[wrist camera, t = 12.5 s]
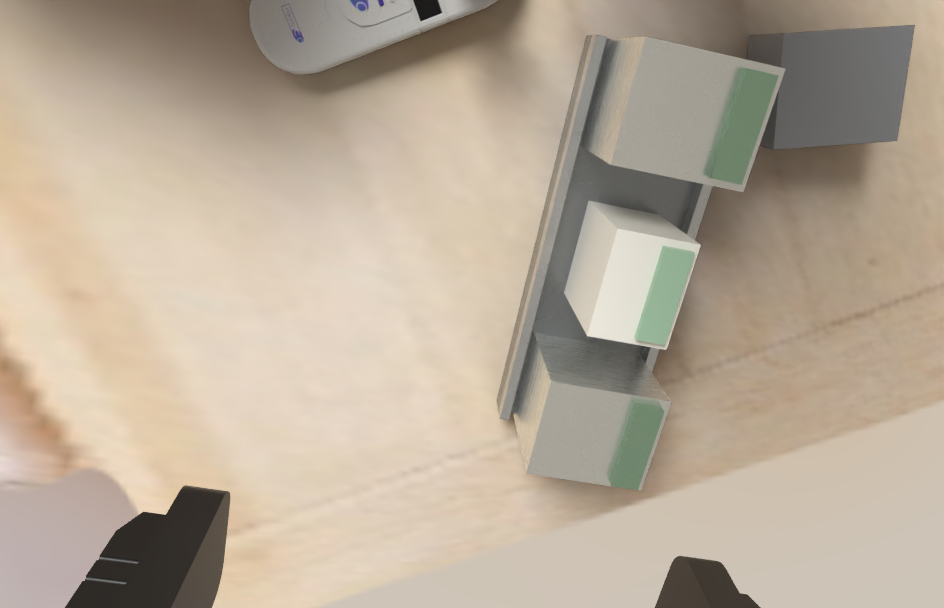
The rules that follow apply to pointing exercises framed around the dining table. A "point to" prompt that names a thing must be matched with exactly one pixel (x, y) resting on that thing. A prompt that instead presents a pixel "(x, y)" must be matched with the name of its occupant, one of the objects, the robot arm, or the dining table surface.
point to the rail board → (634, 187)
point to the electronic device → (344, 27)
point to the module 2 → (835, 85)
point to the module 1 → (629, 275)
